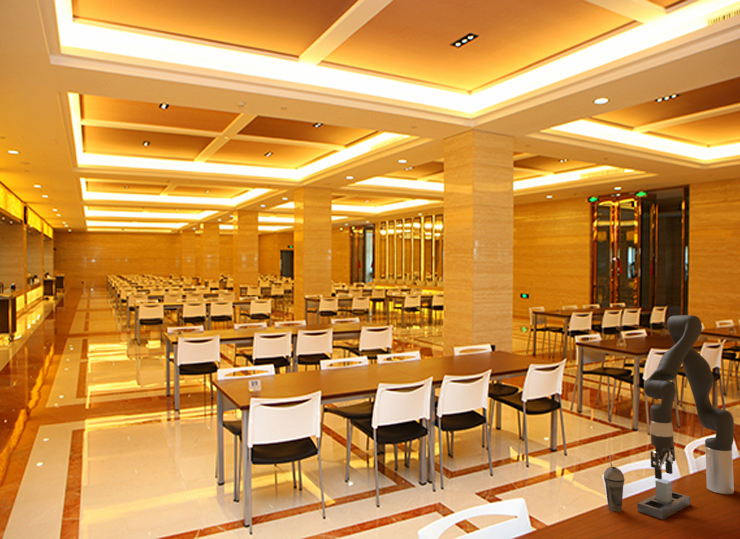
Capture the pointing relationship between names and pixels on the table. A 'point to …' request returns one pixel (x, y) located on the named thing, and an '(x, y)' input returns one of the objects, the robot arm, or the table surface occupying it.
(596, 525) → the table surface
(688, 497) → the grey slotted block
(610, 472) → the beverage cup
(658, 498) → the peg
